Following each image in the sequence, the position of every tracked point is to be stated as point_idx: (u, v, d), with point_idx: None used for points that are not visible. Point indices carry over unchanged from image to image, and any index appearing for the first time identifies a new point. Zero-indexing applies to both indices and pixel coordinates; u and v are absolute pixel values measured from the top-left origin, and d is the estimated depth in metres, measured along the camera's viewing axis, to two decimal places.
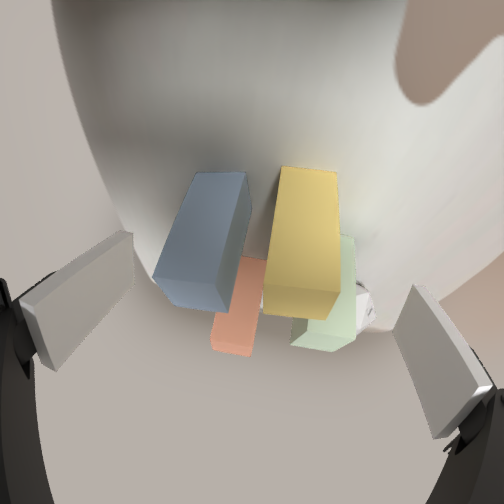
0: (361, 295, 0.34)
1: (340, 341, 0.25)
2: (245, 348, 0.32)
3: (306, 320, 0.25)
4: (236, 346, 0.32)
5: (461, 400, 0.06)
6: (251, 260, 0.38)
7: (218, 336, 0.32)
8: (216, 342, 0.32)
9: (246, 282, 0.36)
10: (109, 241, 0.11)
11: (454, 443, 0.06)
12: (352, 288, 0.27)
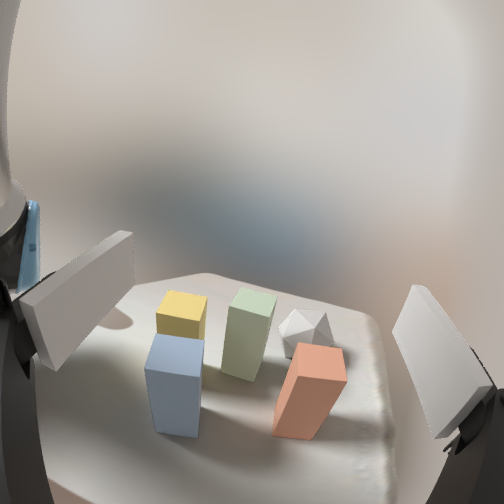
0: (279, 329, 0.44)
1: (248, 292, 0.37)
2: (307, 348, 0.28)
3: (231, 314, 0.34)
4: (305, 354, 0.27)
5: (461, 400, 0.06)
6: (274, 416, 0.32)
7: (296, 372, 0.25)
8: (305, 371, 0.25)
9: (280, 402, 0.30)
10: (109, 241, 0.11)
11: (454, 443, 0.06)
12: None
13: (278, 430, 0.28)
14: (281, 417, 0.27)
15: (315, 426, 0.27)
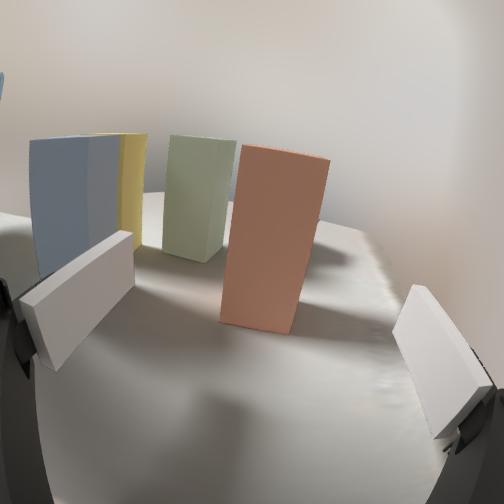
0: None
1: None
2: (264, 146, 0.19)
3: (172, 146, 0.24)
4: (261, 146, 0.18)
5: (461, 400, 0.06)
6: None
7: None
8: (256, 146, 0.16)
9: None
10: (109, 241, 0.11)
11: (454, 443, 0.06)
12: None
13: (228, 304, 0.19)
14: (227, 265, 0.18)
15: (291, 293, 0.18)
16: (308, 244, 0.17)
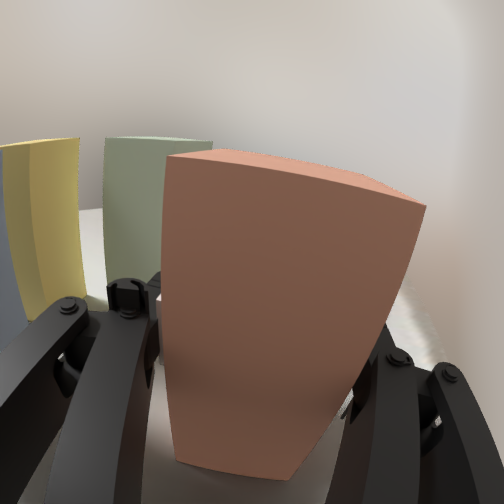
0: None
1: (158, 137, 0.17)
2: (248, 153, 0.09)
3: (108, 156, 0.14)
4: (238, 153, 0.08)
5: None
6: None
7: None
8: (215, 157, 0.06)
9: None
10: None
11: (348, 410, 0.08)
12: None
13: (185, 449, 0.09)
14: (172, 410, 0.08)
15: (296, 449, 0.08)
16: (340, 393, 0.07)
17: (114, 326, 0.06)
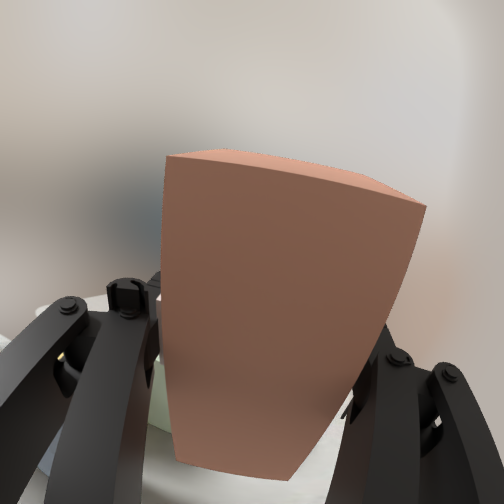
0: None
1: None
2: (248, 153, 0.09)
3: None
4: (238, 153, 0.08)
5: None
6: None
7: None
8: (215, 157, 0.06)
9: None
10: None
11: (348, 410, 0.08)
12: None
13: (184, 449, 0.09)
14: (172, 410, 0.08)
15: (296, 449, 0.08)
16: (340, 393, 0.07)
17: (114, 326, 0.06)
